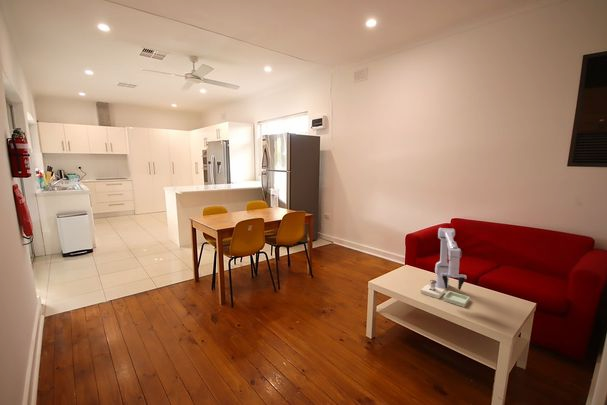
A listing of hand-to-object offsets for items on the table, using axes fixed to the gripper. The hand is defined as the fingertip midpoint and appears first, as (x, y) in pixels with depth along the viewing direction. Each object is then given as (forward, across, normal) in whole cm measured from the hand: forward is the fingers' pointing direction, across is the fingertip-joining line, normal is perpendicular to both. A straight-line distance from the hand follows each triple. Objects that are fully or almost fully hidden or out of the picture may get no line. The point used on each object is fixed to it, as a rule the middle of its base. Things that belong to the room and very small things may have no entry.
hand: (452, 288), depth 174 cm
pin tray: (+10, +5, +8) cm, 13 cm away
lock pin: (+9, -8, +15) cm, 20 cm away
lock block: (+9, -8, +15) cm, 20 cm away
